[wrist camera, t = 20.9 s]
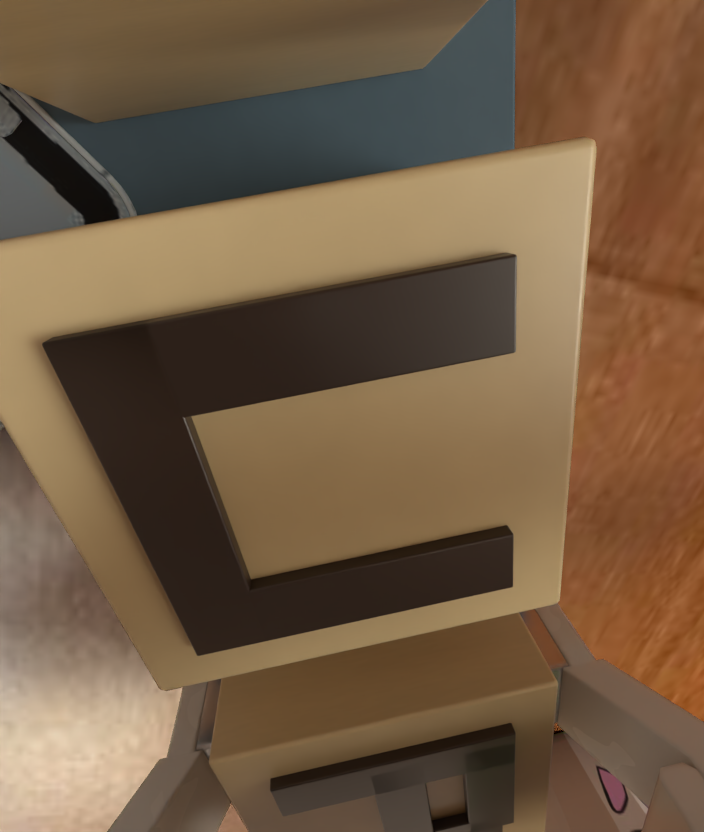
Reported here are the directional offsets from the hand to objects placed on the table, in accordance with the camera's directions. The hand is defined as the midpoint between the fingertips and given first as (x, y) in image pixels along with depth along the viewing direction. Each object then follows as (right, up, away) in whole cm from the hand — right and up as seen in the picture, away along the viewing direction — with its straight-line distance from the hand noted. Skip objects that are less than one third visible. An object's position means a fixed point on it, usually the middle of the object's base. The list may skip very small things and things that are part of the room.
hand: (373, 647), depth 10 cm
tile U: (-1, +7, -2) cm, 7 cm away
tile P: (0, +1, +1) cm, 2 cm away
